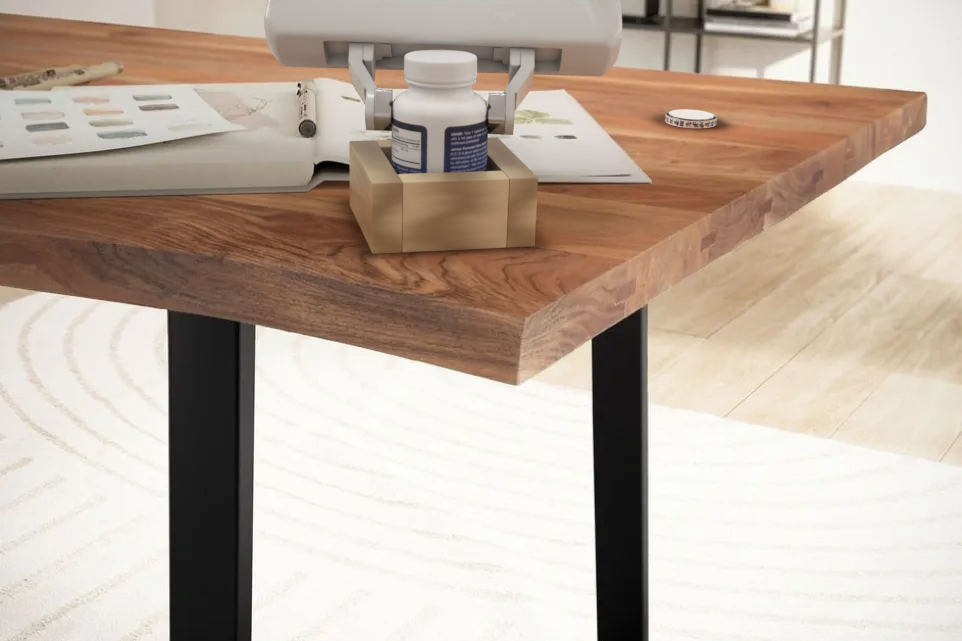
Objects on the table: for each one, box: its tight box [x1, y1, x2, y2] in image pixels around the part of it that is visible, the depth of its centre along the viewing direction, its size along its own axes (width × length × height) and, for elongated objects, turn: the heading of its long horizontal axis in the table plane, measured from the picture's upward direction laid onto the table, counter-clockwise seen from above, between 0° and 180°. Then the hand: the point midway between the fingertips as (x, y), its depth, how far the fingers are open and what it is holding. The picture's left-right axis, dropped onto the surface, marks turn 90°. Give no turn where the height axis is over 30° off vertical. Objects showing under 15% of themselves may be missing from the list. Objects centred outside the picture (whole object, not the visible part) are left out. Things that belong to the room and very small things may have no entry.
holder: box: [348, 136, 539, 254], centre depth 70 cm, size 9×9×4 cm
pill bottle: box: [391, 50, 489, 175], centre depth 69 cm, size 5×5×10 cm
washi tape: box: [664, 108, 718, 129], centre depth 97 cm, size 4×4×1 cm
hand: (440, 127), depth 68 cm, fingers closed on pill bottle, 5 cm apart
